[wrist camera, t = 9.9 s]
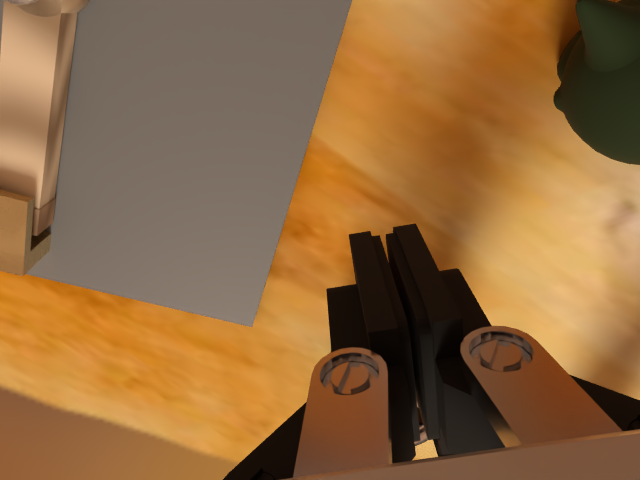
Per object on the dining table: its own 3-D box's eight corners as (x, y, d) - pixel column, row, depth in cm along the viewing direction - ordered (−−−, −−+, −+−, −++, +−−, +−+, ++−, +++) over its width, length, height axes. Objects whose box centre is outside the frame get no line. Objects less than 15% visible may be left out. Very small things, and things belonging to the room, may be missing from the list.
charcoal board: (-5, -126, 27) (-15, -131, 26) (350, 0, 30) (352, -1, 29) (-15, 256, 37) (-23, 262, 36) (253, 320, 40) (252, 327, 39)
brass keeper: (-12, 107, 31) (-51, 119, 28) (60, 127, 32) (31, 141, 29) (-15, 235, 35) (-50, 259, 32) (49, 250, 36) (22, 276, 32)
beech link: (18, -83, 27) (-6, -91, 25) (99, -52, 28) (82, -58, 26) (-3, 207, 34) (-23, 220, 32) (62, 225, 35) (47, 238, 33)
